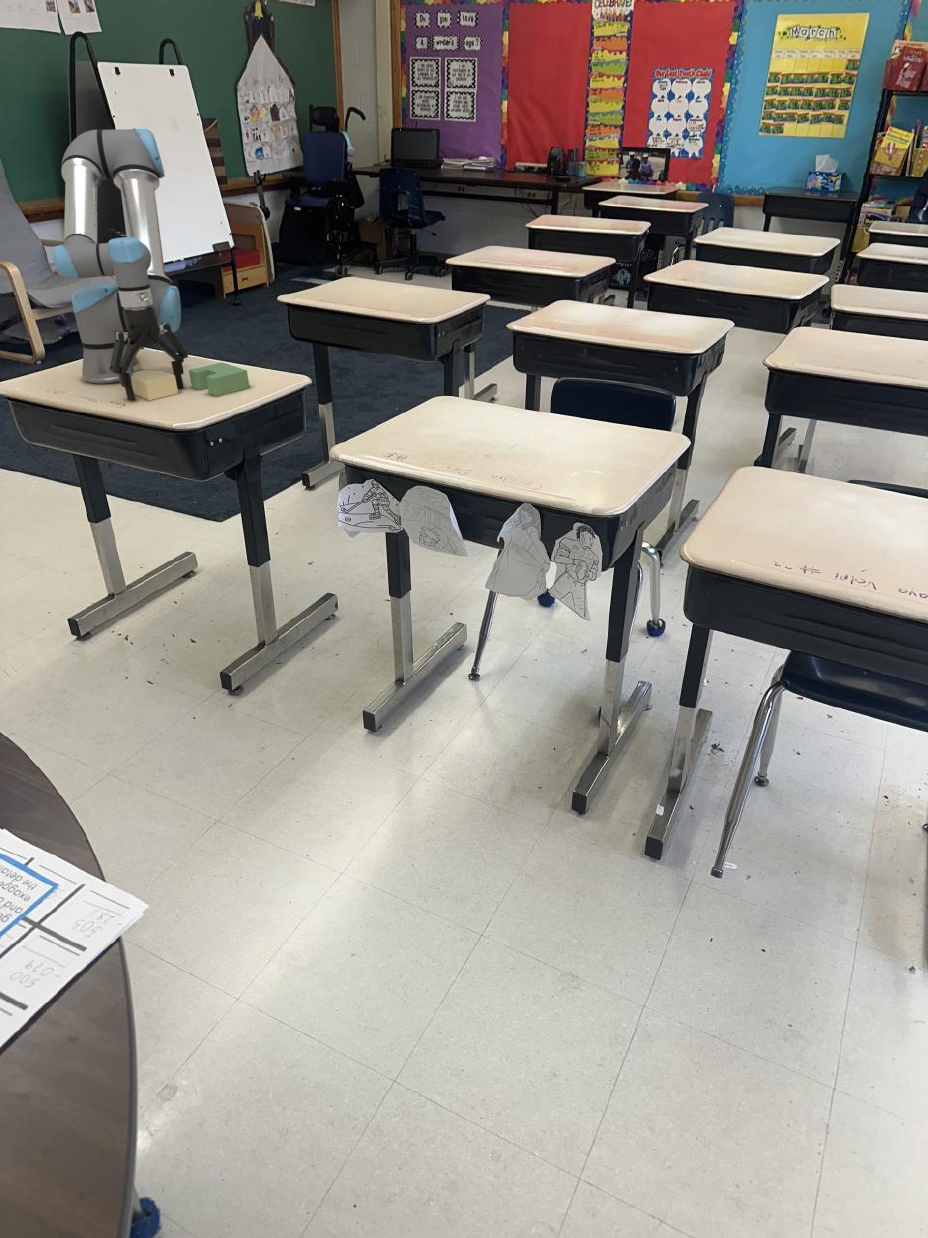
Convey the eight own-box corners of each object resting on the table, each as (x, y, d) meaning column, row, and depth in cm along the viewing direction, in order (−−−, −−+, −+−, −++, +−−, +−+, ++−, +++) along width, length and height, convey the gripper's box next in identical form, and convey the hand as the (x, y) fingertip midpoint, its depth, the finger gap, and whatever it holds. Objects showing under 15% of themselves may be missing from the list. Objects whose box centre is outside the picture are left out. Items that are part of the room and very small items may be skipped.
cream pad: (149, 400, 216) (145, 382, 213) (129, 391, 222) (125, 374, 220) (178, 392, 220) (174, 375, 218) (157, 384, 227) (153, 367, 225)
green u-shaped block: (191, 387, 225) (188, 369, 222) (224, 378, 231) (221, 361, 228) (216, 396, 217) (213, 378, 215) (249, 387, 223) (246, 370, 221)
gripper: (95, 317, 199) (117, 407, 211) (191, 300, 214) (206, 385, 225) (81, 313, 204) (103, 401, 215) (176, 296, 219) (191, 379, 230)
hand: (156, 393), depth 220 cm, fingers open, 13 cm apart
